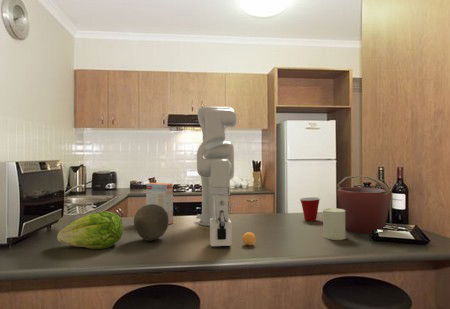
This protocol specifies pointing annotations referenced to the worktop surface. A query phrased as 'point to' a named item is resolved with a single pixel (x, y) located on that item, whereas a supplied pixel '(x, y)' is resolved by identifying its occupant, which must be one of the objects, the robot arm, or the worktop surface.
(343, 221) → the can
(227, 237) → the white sugar cube
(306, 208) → the plastic cup
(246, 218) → the worktop surface
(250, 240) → the ball
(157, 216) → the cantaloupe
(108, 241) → the lettuce
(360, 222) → the bucket
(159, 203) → the cracker box
